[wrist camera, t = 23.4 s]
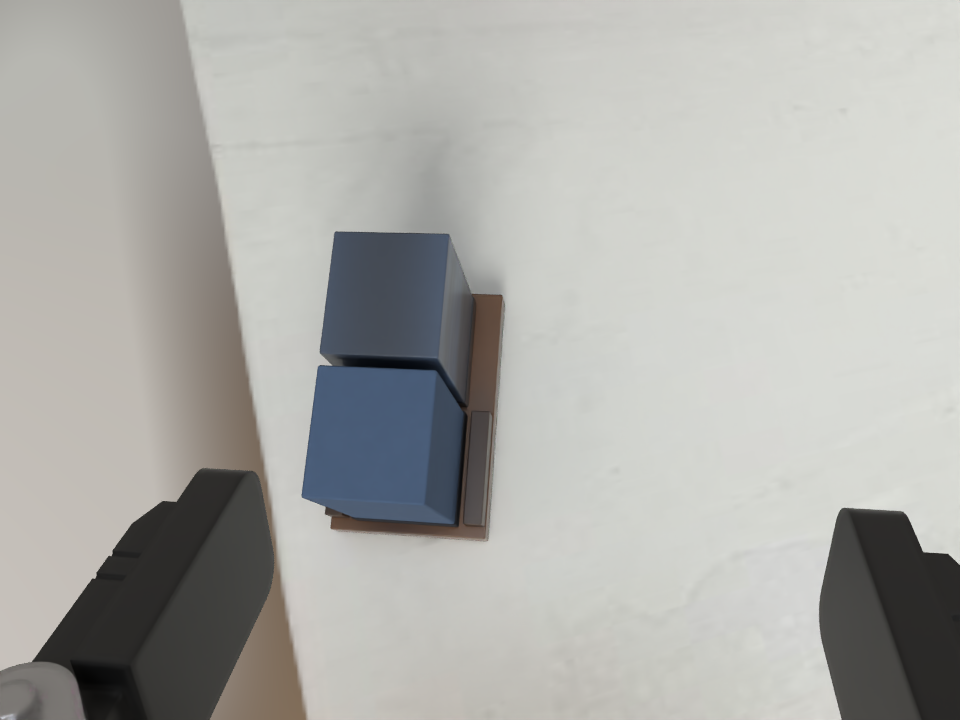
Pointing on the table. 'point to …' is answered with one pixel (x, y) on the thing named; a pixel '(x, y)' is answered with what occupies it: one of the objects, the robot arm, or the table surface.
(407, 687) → the table surface
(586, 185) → the table surface
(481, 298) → the stand
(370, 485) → the blue rectangular block
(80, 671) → the robot arm
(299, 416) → the table surface
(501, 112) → the table surface
